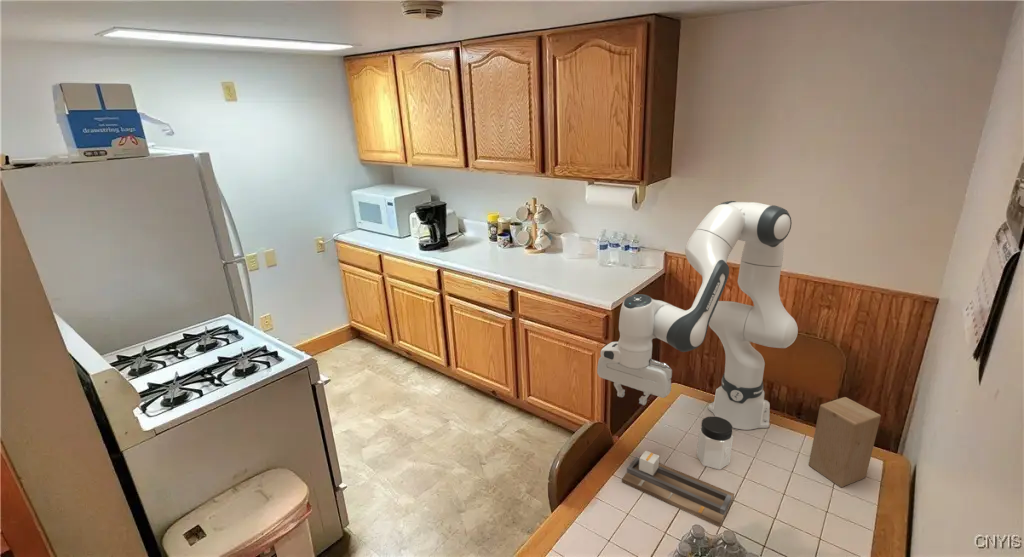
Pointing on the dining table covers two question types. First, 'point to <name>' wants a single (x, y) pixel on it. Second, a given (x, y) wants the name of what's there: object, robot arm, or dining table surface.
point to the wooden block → (843, 441)
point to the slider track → (681, 491)
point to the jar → (715, 442)
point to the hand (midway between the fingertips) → (631, 399)
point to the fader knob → (649, 463)
